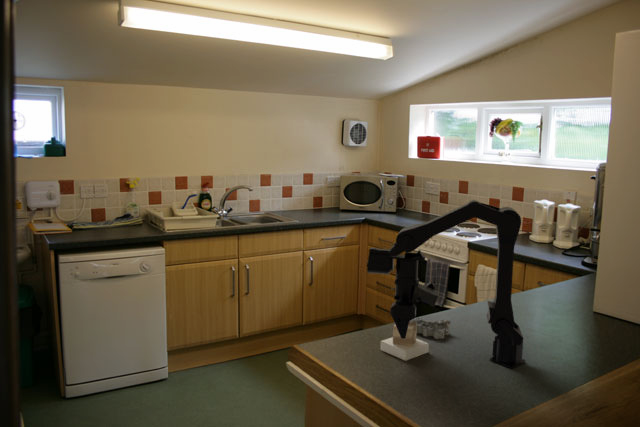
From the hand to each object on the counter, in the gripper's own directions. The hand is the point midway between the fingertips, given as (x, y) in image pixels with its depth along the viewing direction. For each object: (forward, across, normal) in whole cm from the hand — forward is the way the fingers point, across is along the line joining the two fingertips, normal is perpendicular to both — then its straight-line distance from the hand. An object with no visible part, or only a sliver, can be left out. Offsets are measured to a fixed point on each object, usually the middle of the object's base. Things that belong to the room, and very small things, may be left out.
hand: (404, 332), depth 143 cm
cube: (+3, 0, 0) cm, 3 cm away
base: (+5, 0, 0) cm, 5 cm away
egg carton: (+6, +16, -6) cm, 18 cm away
